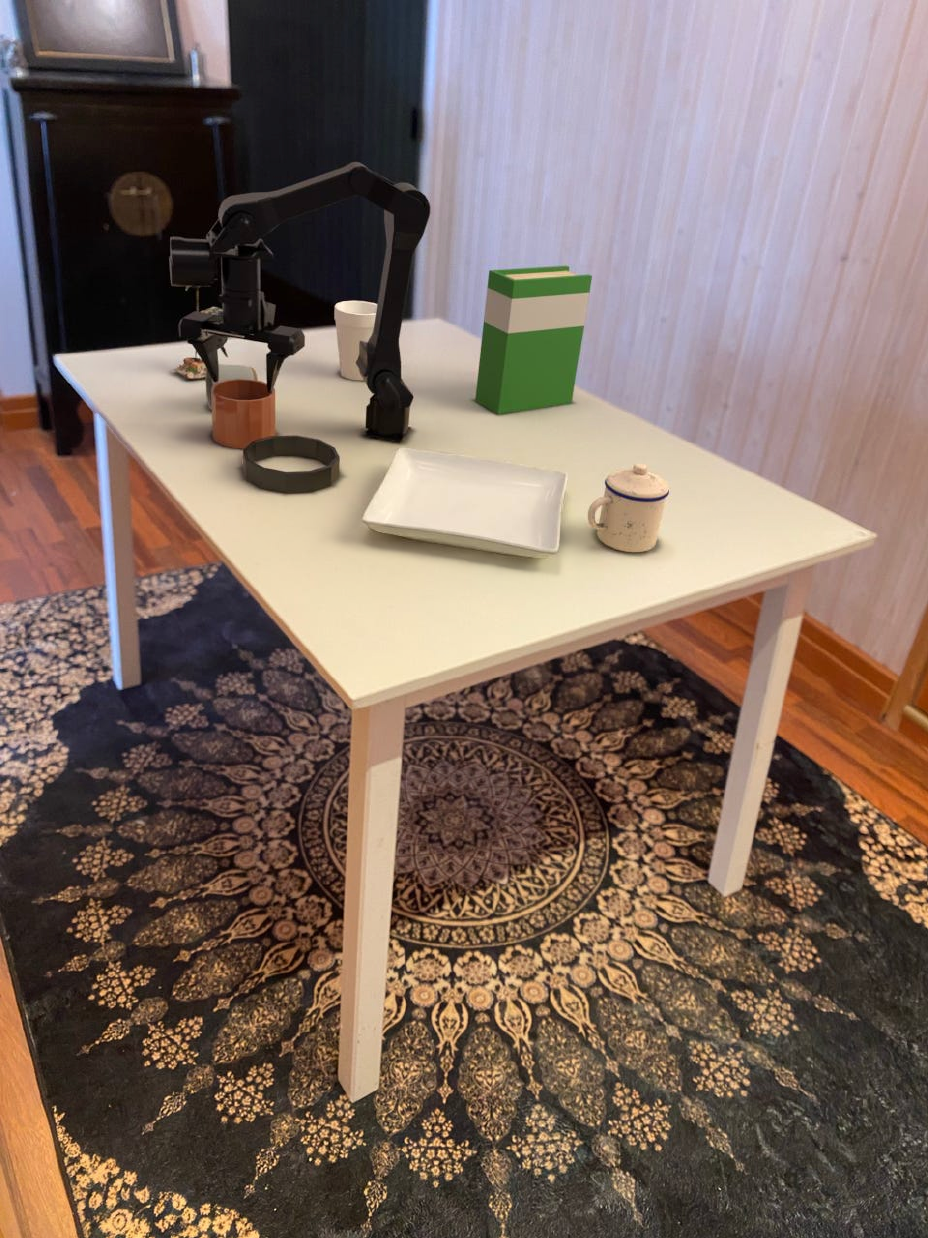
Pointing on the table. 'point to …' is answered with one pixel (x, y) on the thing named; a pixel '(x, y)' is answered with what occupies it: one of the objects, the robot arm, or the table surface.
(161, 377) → the table surface
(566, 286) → the hardback book
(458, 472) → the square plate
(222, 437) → the terracotta cup
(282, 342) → the robot arm
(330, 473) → the dark grey ring
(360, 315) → the foam cup
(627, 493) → the teacup with lid
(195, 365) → the plant with pod
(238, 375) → the ceramic mug
